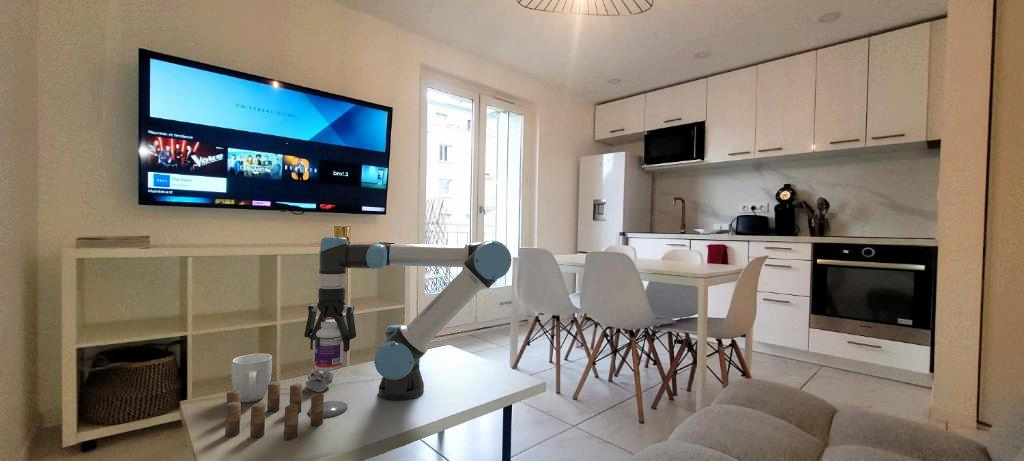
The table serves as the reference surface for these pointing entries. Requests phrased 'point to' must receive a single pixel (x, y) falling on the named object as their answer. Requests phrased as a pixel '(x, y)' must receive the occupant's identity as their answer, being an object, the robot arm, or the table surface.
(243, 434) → the table surface
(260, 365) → the mug
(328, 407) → the coaster
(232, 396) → the dowel posts
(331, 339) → the pill bottle
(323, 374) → the figurine
